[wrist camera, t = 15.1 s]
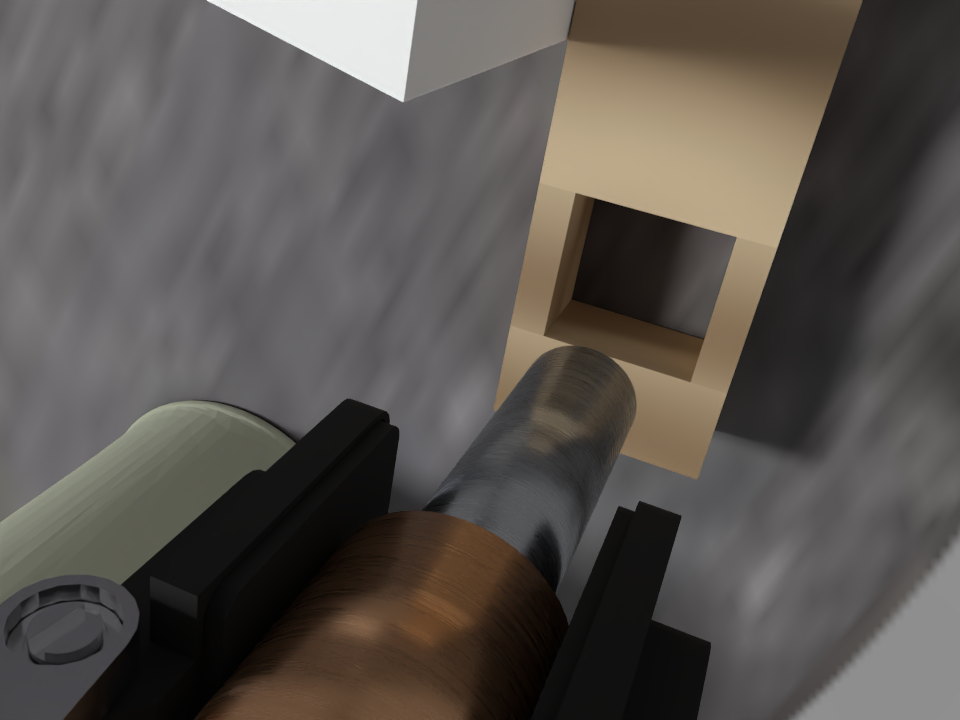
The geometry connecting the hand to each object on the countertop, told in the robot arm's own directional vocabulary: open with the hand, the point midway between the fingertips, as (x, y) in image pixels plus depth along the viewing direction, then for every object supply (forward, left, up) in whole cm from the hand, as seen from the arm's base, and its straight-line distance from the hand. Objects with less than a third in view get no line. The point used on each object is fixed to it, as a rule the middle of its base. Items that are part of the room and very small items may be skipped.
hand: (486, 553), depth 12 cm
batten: (-3, 0, -12) cm, 12 cm away
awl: (0, 0, -5) cm, 5 cm away
